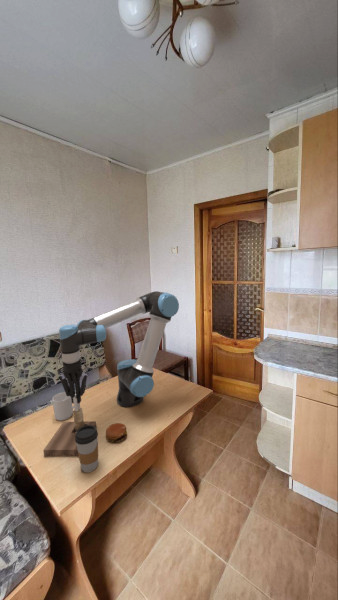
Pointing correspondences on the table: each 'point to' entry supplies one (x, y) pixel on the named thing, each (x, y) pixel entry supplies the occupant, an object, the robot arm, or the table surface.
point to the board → (64, 440)
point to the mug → (62, 406)
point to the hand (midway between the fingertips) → (77, 409)
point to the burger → (116, 432)
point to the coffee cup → (87, 447)
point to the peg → (78, 419)
